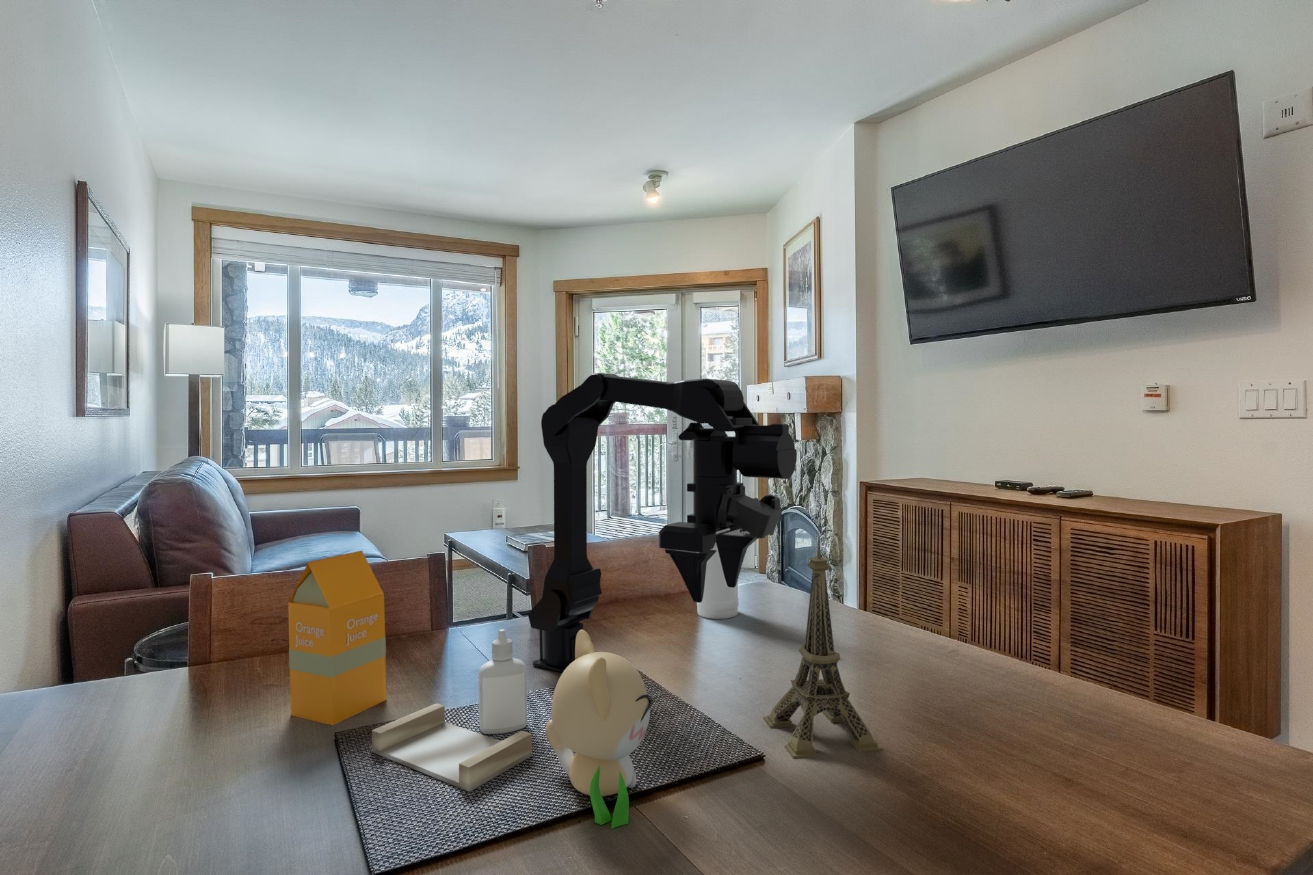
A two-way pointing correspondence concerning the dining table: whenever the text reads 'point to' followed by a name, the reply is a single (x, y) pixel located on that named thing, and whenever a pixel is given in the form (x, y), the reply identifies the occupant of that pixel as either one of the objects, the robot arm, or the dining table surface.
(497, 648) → the eye dropper bottle
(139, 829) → the dining table surface
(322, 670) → the orange juice
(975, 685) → the dining table surface
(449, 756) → the u rest
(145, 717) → the dining table surface
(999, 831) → the dining table surface
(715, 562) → the bottle
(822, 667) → the eiffel tower
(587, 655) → the kitten
